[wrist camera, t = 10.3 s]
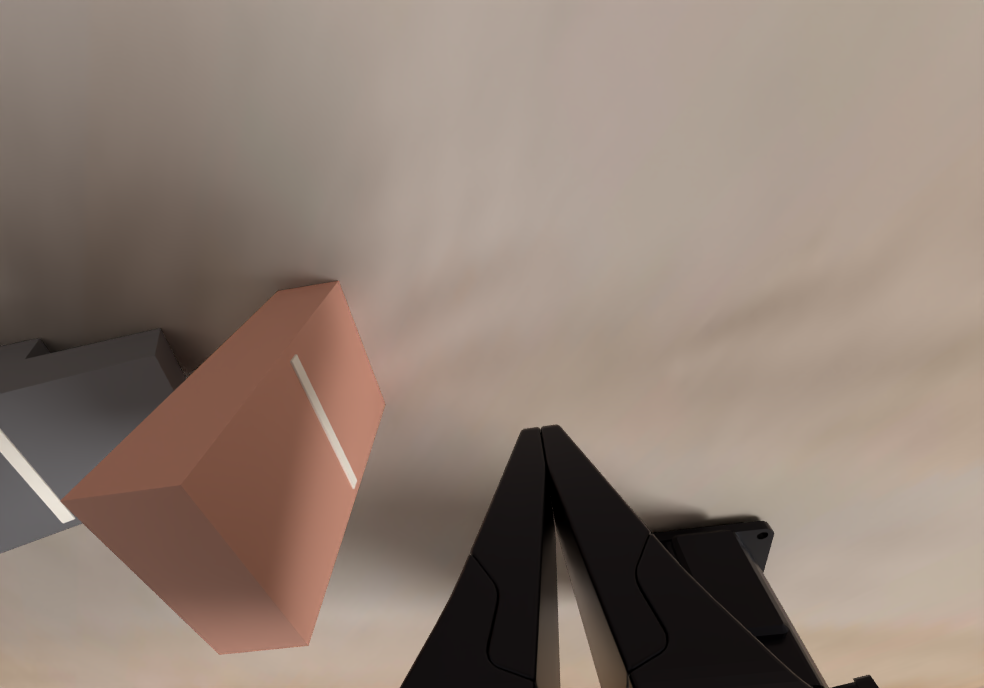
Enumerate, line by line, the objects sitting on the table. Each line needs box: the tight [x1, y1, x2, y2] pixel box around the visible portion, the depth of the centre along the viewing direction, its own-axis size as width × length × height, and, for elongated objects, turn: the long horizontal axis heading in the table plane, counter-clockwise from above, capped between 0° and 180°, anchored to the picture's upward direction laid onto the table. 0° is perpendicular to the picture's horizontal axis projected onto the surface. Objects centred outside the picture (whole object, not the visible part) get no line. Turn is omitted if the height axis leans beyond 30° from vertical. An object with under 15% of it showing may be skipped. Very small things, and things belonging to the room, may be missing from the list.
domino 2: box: [0, 328, 186, 553], centre depth 13 cm, size 5×2×8 cm
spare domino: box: [60, 281, 385, 655], centre depth 11 cm, size 5×2×8 cm, turn 10°
